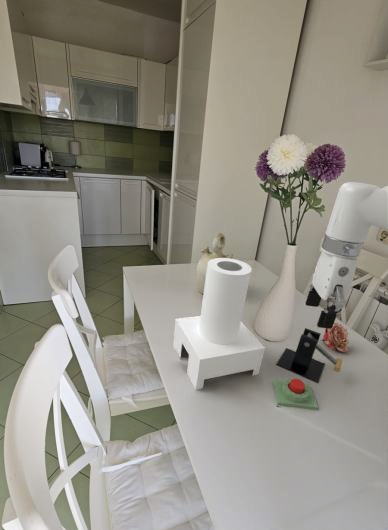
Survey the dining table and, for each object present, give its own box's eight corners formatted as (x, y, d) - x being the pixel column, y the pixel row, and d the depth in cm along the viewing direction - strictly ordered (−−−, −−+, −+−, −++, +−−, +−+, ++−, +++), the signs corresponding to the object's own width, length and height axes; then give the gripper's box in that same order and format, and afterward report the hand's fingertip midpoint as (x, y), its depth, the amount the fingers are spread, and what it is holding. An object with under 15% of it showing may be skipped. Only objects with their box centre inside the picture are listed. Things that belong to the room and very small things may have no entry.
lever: (338, 364, 87) (344, 359, 85) (335, 373, 83) (342, 369, 81) (304, 334, 89) (310, 330, 87) (300, 342, 85) (306, 337, 84)
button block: (307, 388, 83) (311, 379, 81) (316, 412, 76) (320, 402, 74) (271, 384, 83) (274, 374, 81) (276, 407, 76) (279, 397, 74)
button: (301, 384, 79) (303, 379, 78) (304, 394, 76) (306, 389, 75) (287, 382, 79) (289, 377, 79) (290, 393, 76) (292, 387, 75)
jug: (187, 287, 130) (192, 230, 118) (212, 280, 140) (220, 226, 128) (212, 302, 120) (221, 242, 109) (237, 293, 130) (248, 236, 118)
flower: (309, 338, 102) (326, 329, 95) (323, 325, 107) (340, 316, 100) (328, 362, 100) (347, 355, 94) (342, 347, 105) (360, 340, 98)
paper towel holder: (195, 390, 78) (210, 285, 64) (173, 346, 93) (181, 253, 79) (257, 376, 85) (283, 279, 71) (227, 337, 100) (243, 251, 86)
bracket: (323, 366, 92) (336, 334, 86) (316, 385, 84) (330, 351, 79) (285, 350, 97) (294, 319, 92) (275, 367, 89) (285, 334, 84)
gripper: (379, 263, 55) (347, 339, 63) (344, 236, 71) (322, 300, 79) (338, 258, 56) (311, 335, 64) (312, 232, 71) (293, 297, 79)
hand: (317, 315), depth 71 cm, fingers open, 9 cm apart
